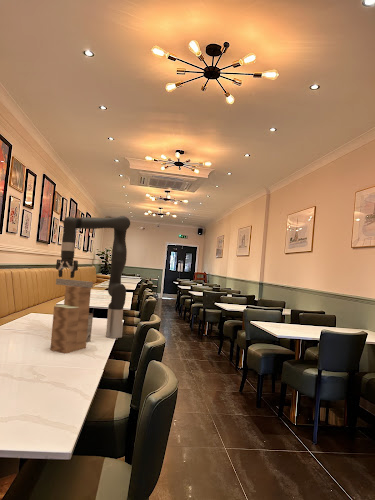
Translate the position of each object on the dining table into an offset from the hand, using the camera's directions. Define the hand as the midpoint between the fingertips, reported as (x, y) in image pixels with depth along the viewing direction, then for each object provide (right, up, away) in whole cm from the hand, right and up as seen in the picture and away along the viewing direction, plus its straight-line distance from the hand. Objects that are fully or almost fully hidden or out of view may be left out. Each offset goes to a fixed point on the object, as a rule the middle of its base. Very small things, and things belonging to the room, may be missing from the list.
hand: (66, 277), depth 213 cm
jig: (+11, -35, -29) cm, 46 cm away
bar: (+12, -3, -23) cm, 26 cm away
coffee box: (+11, -36, -9) cm, 39 cm away
